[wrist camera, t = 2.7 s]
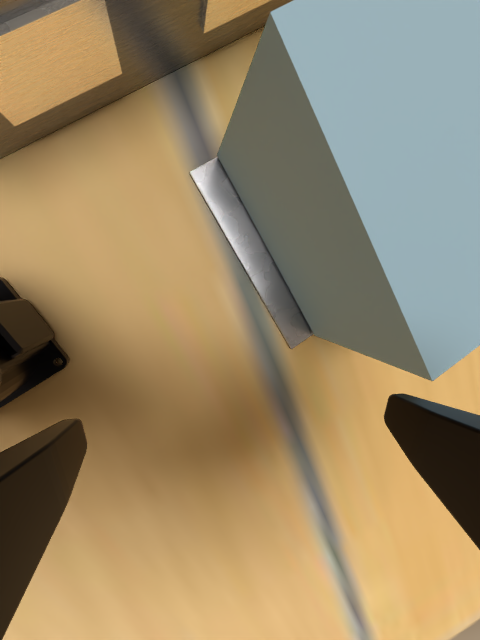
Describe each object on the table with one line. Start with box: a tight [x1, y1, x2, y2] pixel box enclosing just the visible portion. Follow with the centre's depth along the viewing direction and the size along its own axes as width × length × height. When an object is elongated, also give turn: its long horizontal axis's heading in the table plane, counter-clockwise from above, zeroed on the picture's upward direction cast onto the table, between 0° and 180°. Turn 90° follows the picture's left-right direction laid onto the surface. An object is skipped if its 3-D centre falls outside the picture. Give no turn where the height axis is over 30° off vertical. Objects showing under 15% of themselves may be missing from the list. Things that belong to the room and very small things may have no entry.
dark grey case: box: [0, 0, 314, 349], centre depth 14 cm, size 30×25×12 cm
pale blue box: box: [217, 0, 480, 381], centre depth 15 cm, size 10×14×10 cm
